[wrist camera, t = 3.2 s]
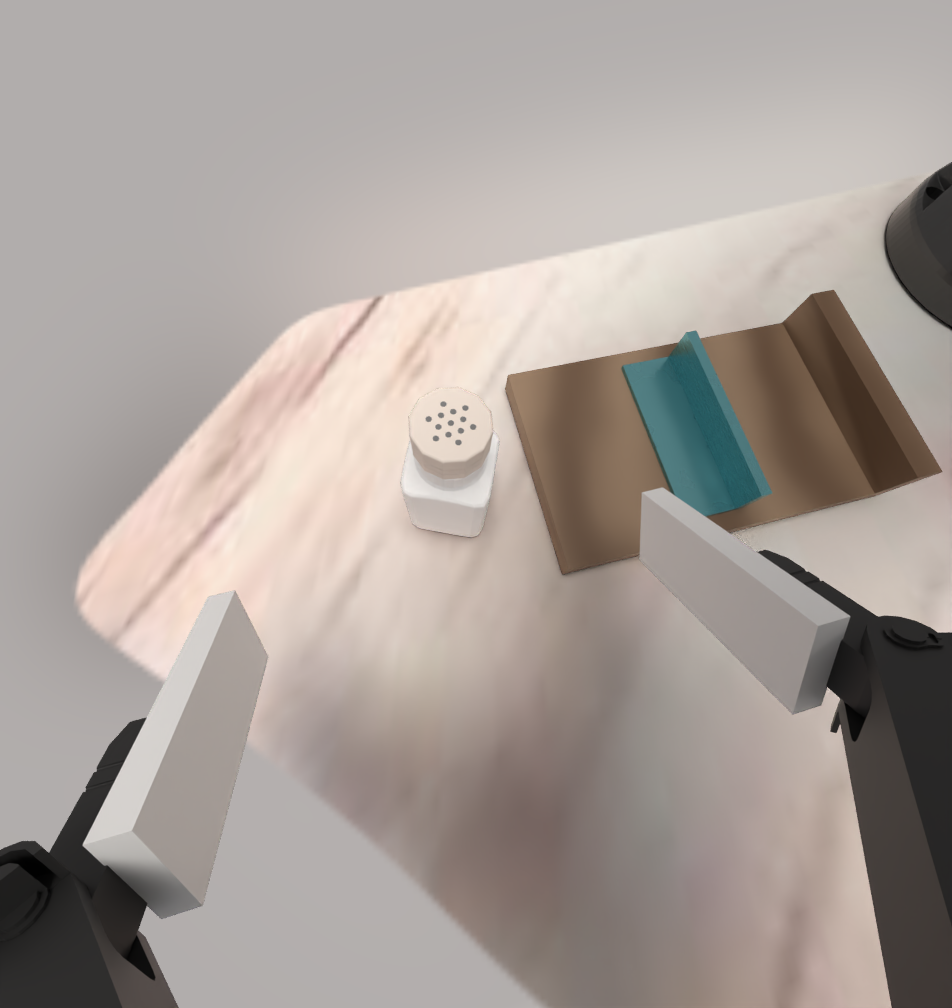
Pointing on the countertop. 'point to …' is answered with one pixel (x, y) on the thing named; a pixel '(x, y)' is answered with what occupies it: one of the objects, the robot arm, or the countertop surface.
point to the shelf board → (760, 411)
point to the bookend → (695, 430)
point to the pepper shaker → (449, 462)
